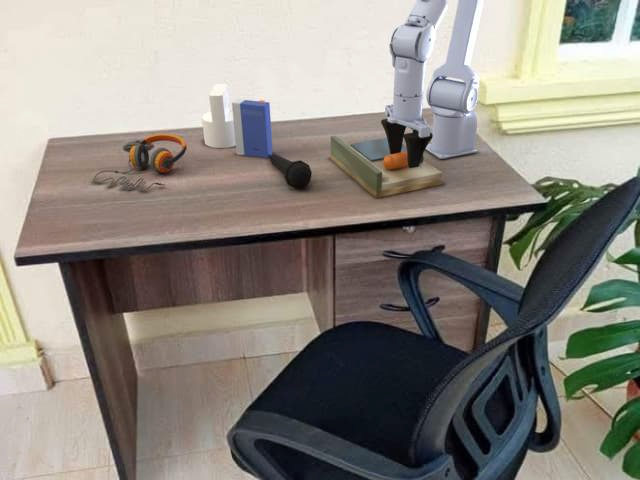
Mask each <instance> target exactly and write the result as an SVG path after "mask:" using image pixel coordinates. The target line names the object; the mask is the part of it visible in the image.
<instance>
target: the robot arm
mask: <svg viewBox="0 0 640 480" xmlns="http://www.w3.org/2000/svg"><path fill="white" fill-rule="evenodd" d="M484 1H485V0H458V1H457V6H456V11H455V16H454V20H453V21H454V22H453V25H452V31H451V35H450V40H449V45H448V50H447V55H446V59H445V62H444V63H443V64H442V65H440V66H439V67H437V68H436V69H434V70H433V72H432V75H431V79H430V82H429V84H428V86H427V90H426V95H425V97H426V102H427V105H428V106H429V107H430V112H433V115H432V128H431V125H429V124H428V123H427V121H426V119H425V118H424V116H423V105H424V104H423V103H424V92H425V91H424V90H425V77H426V76H425V75H426V67H427V65H426V64H427V60H428V59H429V58H430V56H431V55H432V52H433V49H434V44H435V40H436V38H437V37H436V36H437V33H436V31H437V29H438V27H439V25H440V24H441V22H442V19H443V18H444V16H445V14H446V12H447V10H448V8H449V6H448V1H447V0H416V1H415V3H414V5H413V7H412V9H411V11H410V13H409V14H408V16H407V17H406V19H405V22H404V24H401V25H399V26H398V27H396V28H395V29H394V30H393V32H392V34H391V36H390V37H391V38H390V42H389V44H388V45H389V52H390V55H391V65H392V67H393V68H394V76H393V77H394V79H393V97H392V104H388V105H385V106H384V107H385V108H384V115H385V116H386V118H383V119H381V120H380V124H381V126H382V127H383V130H384V132H385V135H386V138H387V140H388V145H389V150H390V154H396V153H401V149H402V144H403V142H405V146H406V147H407V160H408V167H409V168H415V167H419V164H420V162H421V159H422V156H423V155H424V153H425V150H426V151H428V152H429V153H431V155H434V156H435V157H437V158H438V159H440V160H444V159H448V158H454V157H459V156H465V155H469V154H474V153H477V149H476V141H477V134H478V133H477V132H478V123H479V121H478V116H477V114H476V112H475V110H474V109H475V107H476V105H477V102H478V99H479V85H480V77H479V76H478V75H477V73H476V72H475V70H473V68H472V67H471V65H470V64H471V61H472V56H473V51H474V47H475V41H476V38H477V32H478V29H479V23H480V19H481V14H482V10H483V6H484ZM448 78H451V79H448ZM455 79H456V80H455ZM459 80H462V81H459ZM407 128H409V129H410V130H411V131H412V132H408V133H405V132H406V129H407Z"/></svg>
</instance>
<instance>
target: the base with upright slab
mask: <svg viewBox="0 0 640 480" xmlns="http://www.w3.org/2000/svg"><path fill="white" fill-rule="evenodd" d="M208 97H209V107H210V110H209V111H207V112H205V113H203V114H202V115H201V123H202V130H203V138H204V139H203V140H204V144H205V145H206V146H208V147H210V148H216V149H227V148H232V147H236V143H235V132H234V122H233V110H232V109H231V108H230V106H231V105H230V96H229V87H228V84H227V83H215V84H214V85H213V86H212V88H211V91H210V93H209V95H208Z"/></svg>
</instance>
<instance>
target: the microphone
mask: <svg viewBox="0 0 640 480" xmlns="http://www.w3.org/2000/svg"><path fill="white" fill-rule="evenodd" d="M268 158H269V161H270V163H271V165H273V166H274V168H276V169H277V170H278V171H279V172H281V174H283V177H284V179H285V182H286V184H287V185H288V186H289V187H291V188H292V189H294V190H298V189H304V188H305V187H307V185H308V184H309V183H310V182H311V179H312V175H313V172H312V169H311V167H310V164H308V163H306V161H305V162H304V161H303V160H300V159H299V160H294V161H291V160H289V159H287V158H285V157H282V156H281V155H279V154H274V153H273V154H272V155H268Z"/></svg>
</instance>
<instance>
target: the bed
mask: <svg viewBox="0 0 640 480" xmlns="http://www.w3.org/2000/svg"><path fill="white" fill-rule="evenodd" d="M406 151H407V147H406V144H403V143H402V149H401V152H406ZM387 155H391V154H390V150H389V145H388V140H387V137H383V138H377V139H372V140H366V141H361V142H355V143H350V145H349V144H348V143H346V142H345V141H343V140H342V139H340V138H339V137H338V136H337V135H331V136H330V160H331V161H333V163H335V164H336V165H337V166H338V167H340V168H341V170H343V171H344V172H345V173H346V174H347V175H348V176H350V177H351V179H353V180H354V181H356V182H357V183H358V184H359V185H360V186H362V187H363V188H364V189H365V190H366V191H367V192H369V193H370V194H371V195H372V196H373V197H374V198H375V199H377V198H384V197H388V196H393V195H398V194H402V193H407V192H412V191H416V190H422V189H427V188H432V187H436V186H440V185H441V186H442V185H443V182H444V178H443V172H442V171H441V170H439V169H438V168H436V167H435V166H433V165H432V164H431V163H429V162H427V161H426V160H425V159H424V160H423V163H422V164H419V167H415V168H409V167H408V166H407V167H402V168H397V169H392V170H388V169H386V168H385V167H384V165H383V160H384V158H385V157H386V156H387Z"/></svg>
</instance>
